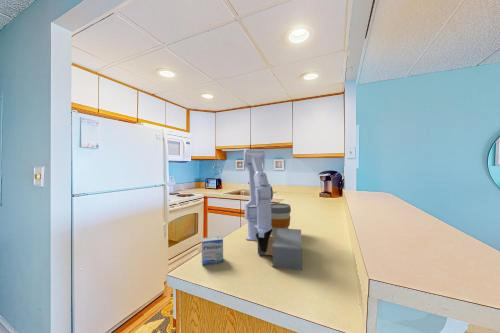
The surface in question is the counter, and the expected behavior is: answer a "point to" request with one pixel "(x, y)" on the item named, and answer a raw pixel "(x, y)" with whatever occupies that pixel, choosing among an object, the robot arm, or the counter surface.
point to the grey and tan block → (269, 247)
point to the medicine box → (212, 250)
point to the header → (287, 249)
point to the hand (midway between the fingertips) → (264, 248)
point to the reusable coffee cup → (280, 217)
